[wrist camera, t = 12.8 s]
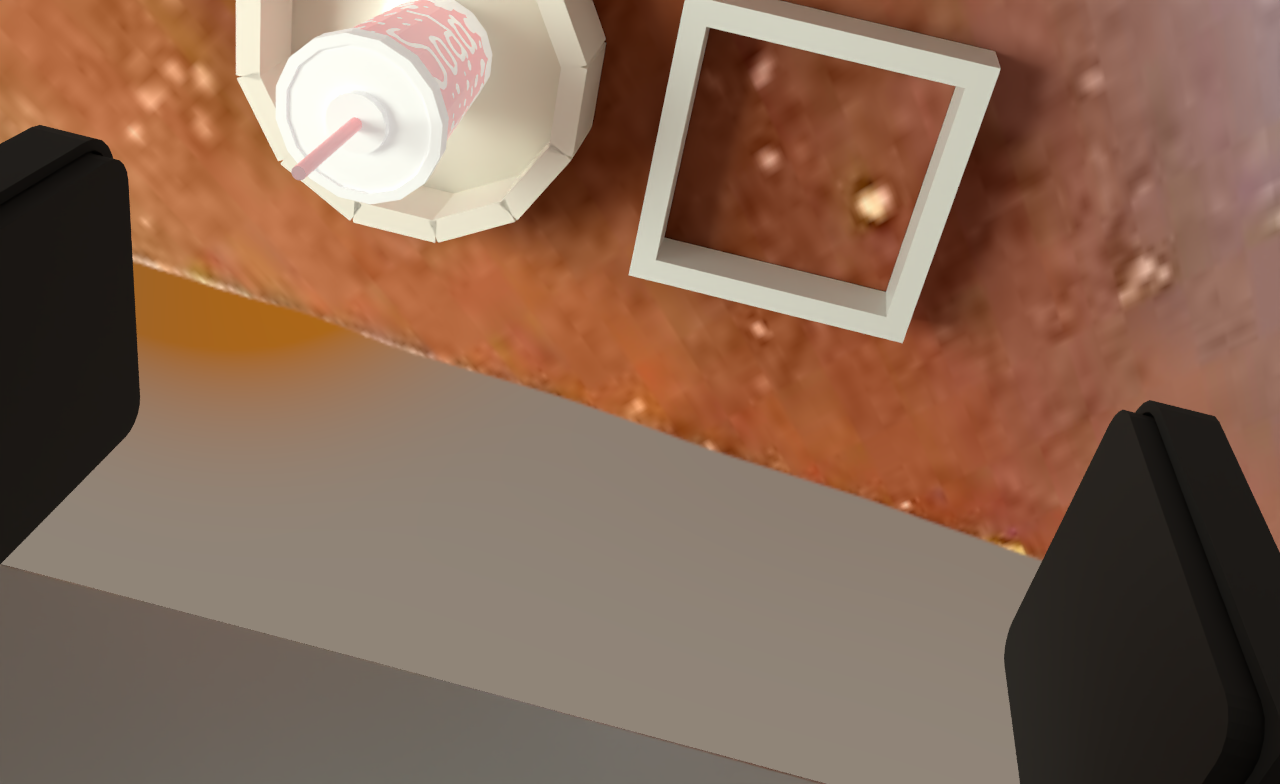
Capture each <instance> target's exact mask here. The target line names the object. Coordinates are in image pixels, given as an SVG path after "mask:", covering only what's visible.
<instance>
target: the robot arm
mask: <svg viewBox="0 0 1280 784" xmlns="http://www.w3.org/2000/svg"><path fill="white" fill-rule="evenodd" d="M134 297H135V296H134V278H133V259H132V241H131V222H130V204H129V185H128V176H127V171H126V169H125V166H124V164H123V163H122V162H120V161H119V160H116V159H113V156H112V154H111V151H110V149H109V147H108V146H107V145H106V144H105V143H104V142H103V141H102V140H98V139H94V138H90V137H86V136H82V135H78V134H74V133H70V132H66V131H62V130H58V129H54V128H50V127H46V126H42V125H38V126H35V127H31V128H29V129H27V130H26V131H24V132H22V133H20V134H18V135H16V136H14V137H13V138H11V139H9V140H7V141H5V142H3V143H1V144H0V784H825V783H822V782H818V781H814V780H811V779H807V778H803V777H799V776H796V775H792V774H789V773H785V772H781V771H778V770H773V769H769V768H766V767H763V766H759V765H755V764H752V763H748V762H744V761H741V760H737V759H733V758H730V757H726V756H722V755H719V754H715V753H711V752H708V751H704V750H700V749H697V748H693V747H689V746H685V745H681V744H678V743H674V742H670V741H667V740H663V739H659V738H656V737H652V736H648V735H644V734H641V733H637V732H633V731H629V730H625V729H622V728H618V727H615V726H610V725H607V724H603V723H599V722H595V721H592V720H588V719H584V718H581V717H577V716H574V715H570V714H566V713H562V712H558V711H555V710H551V709H547V708H544V707H540V706H536V705H532V704H529V703H525V702H521V701H518V700H514V699H510V698H506V697H502V696H499V695H495V694H491V693H488V692H484V691H480V690H476V689H472V688H469V687H465V686H461V685H457V684H454V683H450V682H446V681H443V680H439V679H435V678H431V677H428V676H424V675H420V674H417V673H412V672H409V671H405V670H401V669H398V668H394V667H390V666H386V665H383V664H379V663H375V662H372V661H368V660H364V659H360V658H356V657H353V656H349V655H345V654H341V653H337V652H333V651H329V650H326V649H322V648H318V647H314V646H311V645H307V644H303V643H299V642H296V641H292V640H288V639H284V638H280V637H277V636H273V635H269V634H265V633H261V632H258V631H254V630H250V629H246V628H242V627H239V626H235V625H231V624H227V623H223V622H220V621H216V620H212V619H208V618H204V617H201V616H197V615H193V614H189V613H185V612H182V611H178V610H174V609H170V608H166V607H163V606H159V605H155V604H151V603H147V602H144V601H140V600H136V599H132V598H129V597H125V596H121V595H117V594H113V593H109V592H106V591H102V590H98V589H94V588H91V587H87V586H83V585H79V584H75V583H72V582H68V581H64V580H60V579H56V578H52V577H48V576H45V575H41V574H37V573H33V572H29V571H25V570H21V569H18V568H14V567H10V566H5V565H2V564H1V563H2V562H3V561H4V560H5V559H6V558H7V557H8V556H9V555H10V554H11V553H12V552H13V551H14V550H15V549H16V548H17V547H18V546H19V545H20V544H21V543H22V542H23V541H24V539H26V537H28V536H29V535H30V533H31V532H32V531H33V530H34V529H35V528H36V527H37V526H38V525H39V524H40V523H41V522H42V521H43V520H44V519H45V518H46V517H47V516H48V515H49V514H50V513H51V512H52V511H53V510H54V509H55V508H56V507H57V506H58V505H59V504H60V503H61V502H62V501H63V500H64V499H65V498H66V497H67V496H68V495H69V494H70V493H71V492H72V491H73V490H74V489H75V488H76V487H77V486H78V485H79V484H80V483H81V482H82V480H84V479H85V477H86V476H87V475H89V473H90V472H91V471H92V470H93V469H94V468H95V467H96V466H97V465H98V464H99V463H100V462H101V461H102V460H103V459H104V458H105V457H106V456H107V455H108V454H109V453H110V452H111V451H112V450H113V449H114V448H115V447H116V446H117V445H118V444H119V443H120V442H121V441H122V440H123V439H124V438H125V437H126V436H127V434H128V433H129V432H130V430H131V428H132V427H133V425H134V423H135V420H136V417H137V414H138V410H139V405H140V389H139V371H138V353H137V334H136V317H135V298H134ZM1004 662H1005V672H1006V679H1007V687H1008V695H1009V702H1010V710H1011V717H1012V724H1013V732H1014V740H1015V747H1016V755H1017V763H1018V770H1019V778H1020V784H1280V552H1279V550H1278V548H1277V546H1276V544H1275V541H1274V539H1273V537H1272V535H1271V533H1270V531H1269V528H1268V526H1267V524H1266V522H1265V520H1264V518H1263V515H1262V513H1261V511H1260V509H1259V507H1258V505H1257V503H1256V500H1255V498H1254V496H1253V494H1252V492H1251V490H1250V487H1249V485H1248V483H1247V481H1246V479H1245V477H1244V474H1243V472H1242V470H1241V468H1240V466H1239V464H1238V461H1237V459H1236V457H1235V455H1234V453H1233V451H1232V448H1231V446H1230V444H1229V442H1228V440H1227V438H1226V435H1225V433H1224V431H1223V429H1222V427H1221V425H1220V422H1219V421H1218V420H1217V419H1216V417H1215V416H1211V415H1207V414H1203V413H1199V412H1195V411H1191V410H1187V409H1183V408H1179V407H1175V406H1171V405H1167V404H1163V403H1159V402H1155V401H1151V400H1149V401H1147V402H1145V403H1143V404H1142V405H1141V406H1140V407H1139V409H1138V410H1137V411H1136V412H1135V413H1134V412H1130V411H1126V410H1122V411H1120V412H1118V413H1117V414H1116V415H1115V416H1114V418H1113V419H1112V421H1111V423H1110V424H1109V426H1108V428H1107V430H1106V432H1105V434H1104V436H1103V439H1102V441H1101V443H1100V445H1099V447H1098V449H1097V451H1096V453H1095V455H1094V457H1093V459H1092V461H1091V463H1090V465H1089V467H1088V469H1087V471H1086V473H1085V475H1084V477H1083V479H1082V481H1081V483H1080V485H1079V487H1078V489H1077V491H1076V493H1075V495H1074V498H1073V500H1072V502H1071V504H1070V506H1069V508H1068V510H1067V512H1066V514H1065V516H1064V518H1063V520H1062V522H1061V524H1060V526H1059V528H1058V530H1057V532H1056V534H1055V536H1054V538H1053V540H1052V542H1051V544H1050V546H1049V548H1048V550H1047V552H1046V554H1045V557H1044V559H1043V561H1042V563H1041V565H1040V567H1039V569H1038V571H1037V573H1036V575H1035V577H1034V579H1033V581H1032V583H1031V585H1030V587H1029V589H1028V591H1027V593H1026V595H1025V597H1024V599H1023V601H1022V603H1021V605H1020V607H1019V609H1018V612H1017V614H1016V616H1015V618H1014V620H1013V622H1012V624H1011V627H1010V629H1009V633H1008V636H1007V640H1006V645H1005V654H1004Z"/></svg>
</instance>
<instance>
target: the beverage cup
mask: <svg viewBox="0 0 1280 784" xmlns="http://www.w3.org/2000/svg"><path fill="white" fill-rule="evenodd" d="M491 62H492V51H491V47H490V44H489V40H488V36H487V32H486V31H485V29H484V28H483V27H482V25H481V24H480V22H479V21H478V20H477V18H476V17H475V15H474V14H473V13H472V12H471V11H469V10H468V9H466V8H465V7H463V6H462V5H461V4H459V3H458V2H456V1H455V0H409V1H407V2H405V3H403V4H401V5H398V6H396V7H394V8H392V9H390V10H388V11H386V12H384V13H382V14H380V15H378V16H376V17H374V18H372V19H369V20H367V21H365V22H363V23H361V24H359V25H357V26H355V27H353V28H349V29H344V30H339V31H334V32H328V33H323V34H322V35H320V36H317V37H315V38H314V39H312V40H311V41H310V42H308V43H307V44H306V45H305V46H303V47H302V48H301V49H299V50H298V51H297V52H296V53H294V54H293V55H292V56H290V57H289V59H288V61H287V63H286V65H285V67H284V69H283V72H282V74H281V76H280V78H279V80H278V82H277V84H276V121H277V124H278V127H279V129H280V132H281V135H282V137H283V140H284V143H285V146H286V148H287V151H288V152H289V153H290V155H291V156H292V157H293V158H294V160H295V161H296V162H297V163H298V164H297V165H296V166H294V167H293V168H292V172H291V173H292V176H293V177H294V178H295V179H297V180H303V179H305V178H306V177H307V176H308V177H309V178H310V179H312V180H313V181H315V182H316V183H318V184H319V185H321V186H322V187H324V188H326V189H327V190H329V191H330V192H332V193H333V194H335V195H336V196H338V197H341V198H345V199H350V200H354V201H358V202H362V203H366V204H376V203H383V202H389V201H396V200H401V199H402V198H404V197H405V196H407V195H408V194H410V193H411V192H413V191H414V190H416V189H417V188H419V187H420V186H422V185H423V184H425V183H426V182H427V180H428V179H429V177H430V175H431V174H432V173H433V171H434V169H435V167H436V166H437V164H438V162H439V161H440V159H441V157H442V155H443V154H444V152H445V150H446V143H447V139H448V138H449V137H450V135H451V134H452V132H453V131H454V129H455V128H456V126H457V125H458V124H459V122H460V121H461V119H462V118H463V116H464V115H465V114H466V112H467V111H468V109H469V108H470V106H471V105H472V103H473V102H474V101H475V99H476V98H477V96H478V95H479V93H480V92H481V90H482V88H483V87H484V85H485V83H486V81H487V80H488V78H489V76H490V71H491Z"/></svg>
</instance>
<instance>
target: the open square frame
mask: <svg viewBox="0 0 1280 784" xmlns="http://www.w3.org/2000/svg"><path fill="white" fill-rule="evenodd" d="M710 28H714V29H718V30H722V31H726V32H730V33H735V34H739V35H743V36H747V37H751V38H756V39H760V40H764V41H768V42H772V43H777V44H781V45H785V46H789V47H793V48H798V49H802V50H806V51H810V52H814V53H819V54H823V55H827V56H831V57H836V58H840V59H844V60H848V61H852V62H857V63H861V64H865V65H869V66H873V67H878V68H882V69H886V70H890V71H894V72H899V73H903V74H907V75H911V76H915V77H920V78H924V79H928V80H932V81H936V82H941V83H945V84H949V85H953V86H956V88H955V90H954V93H953V96H952V99H951V102H950V105H949V108H948V111H947V114H946V117H945V120H944V123H943V126H942V129H941V132H940V135H939V137H938V140H937V143H936V146H935V149H934V152H933V155H932V158H931V161H930V164H929V167H928V170H927V173H926V176H925V179H924V182H923V185H922V187H921V190H920V193H919V196H918V199H917V202H916V205H915V208H914V211H913V214H912V217H911V220H910V223H909V226H908V229H907V232H906V234H905V237H904V240H903V243H902V246H901V249H900V252H899V255H898V258H897V261H896V264H895V267H894V270H893V273H892V276H891V279H890V281H889V284H888V287H887V290H886V292H884V291H880V290H876V289H872V288H868V287H864V286H860V285H856V284H851V283H847V282H843V281H839V280H835V279H831V278H827V277H823V276H819V275H815V274H811V273H807V272H803V271H799V270H795V269H791V268H787V267H782V266H778V265H774V264H770V263H766V262H762V261H758V260H754V259H750V258H746V257H742V256H738V255H734V254H730V253H726V252H722V251H718V250H713V249H709V248H705V247H701V246H697V245H693V244H689V243H685V242H681V241H677V240H673V239H669V238H665V232H666V227H667V223H668V218H669V214H670V209H671V204H672V200H673V195H674V191H675V186H676V182H677V177H678V172H679V168H680V163H681V159H682V154H683V149H684V145H685V140H686V136H687V131H688V126H689V122H690V117H691V113H692V108H693V104H694V99H695V94H696V90H697V85H698V81H699V76H700V71H701V67H702V62H703V58H704V53H705V48H706V44H707V39H708V35H709V30H710ZM1000 70H1001V68H1000V65H999V61H998V58H997V55H996V52H995V51H992V50H988V49H984V48H979V47H975V46H971V45H967V44H962V43H958V42H954V41H950V40H945V39H941V38H937V37H933V36H928V35H924V34H920V33H916V32H912V31H907V30H903V29H899V28H895V27H890V26H886V25H882V24H878V23H873V22H869V21H865V20H861V19H857V18H852V17H848V16H844V15H840V14H835V13H831V12H827V11H823V10H818V9H814V8H810V7H806V6H801V5H797V4H793V3H789V2H785V1H780V0H685V2H684V7H683V11H682V16H681V21H680V26H679V31H678V36H677V41H676V46H675V51H674V56H673V61H672V65H671V70H670V75H669V80H668V85H667V90H666V95H665V100H664V105H663V110H662V115H661V119H660V124H659V129H658V134H657V139H656V144H655V149H654V154H653V159H652V164H651V169H650V173H649V178H648V183H647V188H646V193H645V198H644V203H643V208H642V213H641V218H640V223H639V228H638V232H637V237H636V242H635V247H634V252H633V257H632V262H631V267H630V272H629V275H630V276H634V277H638V278H642V279H646V280H650V281H654V282H658V283H663V284H667V285H671V286H675V287H679V288H683V289H687V290H691V291H695V292H699V293H703V294H707V295H711V296H715V297H719V298H723V299H727V300H731V301H735V302H739V303H743V304H747V305H751V306H755V307H759V308H763V309H767V310H771V311H775V312H779V313H783V314H787V315H791V316H796V317H800V318H804V319H808V320H812V321H816V322H820V323H824V324H828V325H832V326H836V327H840V328H844V329H848V330H852V331H856V332H860V333H864V334H868V335H872V336H876V337H880V338H884V339H888V340H892V341H896V342H900V343H903V340H904V337H905V335H906V332H907V329H908V326H909V323H910V321H911V318H912V315H913V312H914V309H915V307H916V304H917V301H918V298H919V296H920V293H921V290H922V287H923V284H924V282H925V279H926V276H927V273H928V270H929V268H930V265H931V262H932V259H933V256H934V254H935V251H936V248H937V245H938V243H939V240H940V237H941V234H942V231H943V229H944V226H945V223H946V220H947V217H948V215H949V212H950V209H951V206H952V203H953V201H954V198H955V195H956V192H957V190H958V187H959V184H960V181H961V178H962V176H963V173H964V170H965V167H966V164H967V162H968V159H969V156H970V153H971V150H972V148H973V145H974V142H975V139H976V137H977V134H978V131H979V128H980V125H981V123H982V120H983V117H984V114H985V111H986V109H987V106H988V103H989V100H990V97H991V95H992V92H993V89H994V86H995V84H996V81H997V78H998V75H999V72H1000Z"/></svg>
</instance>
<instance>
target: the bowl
mask: <svg viewBox="0 0 1280 784" xmlns="http://www.w3.org/2000/svg"><path fill="white" fill-rule="evenodd" d="M407 1H409V0H236V75H239V76H240V77H238V78H237V80H238V82H239V84H240V86H241V88H242V90H243V92H244V94H245V96H246V98H247V100H248V102H249V104H250V106H251V108H252V110H253V112H254V114H255V116H256V118H257V120H258V122H259V124H260V126H261V128H262V130H263V132H264V134H265V136H266V138H267V140H268V142H269V144H270V146H271V148H272V150H273V152H274V154H275V156H276V158H277V160H278V161H280V160H283V159H284V160H283V161H282V163H281V165H282V166H284V167H285V168H286V169H287V170H289V171H290V172H292V168H293V167H294V166H296V165H297V164H298V163H297V162H296V161H295V160H294V158H293V157H292V156H291V155H290V153H289V152H288V151H287V148H286V146H285V143H284V140H283V137H282V135H281V132H280V129H279V127H278V124H277V121H276V84H277V82H278V80H279V78H280V76H281V74H282V72H283V69H284V67H285V65H286V63H287V61H288V59H289V57H290V56H292V55H293V54H294V53H296V52H297V51H298V50H299V49H301V48H302V47H303V46H305V45H306V44H307V43H308V42H310V41H311V40H312V39H314V38H315V37H317V36H320V35H322V34H323V33H328V32H334V31H339V30H344V29H349V28H353V27H355V26H357V25H359V24H361V23H363V22H365V21H367V20H369V19H372V18H374V17H376V16H378V15H380V14H382V13H384V12H386V11H388V10H390V9H392V8H394V7H396V6H398V5H401V4H403V3H405V2H407ZM455 1H456V2H458V3H459V4H461V5H462V6H463V7H465V8H466V9H468V10H469V11H471V12H472V13H473V14H474V15H475V17H476V18H477V20H478V21H479V22H480V24H481V25H482V27H483V28H484V29H485V31H486V32H487V36H488V40H489V44H490V47H491V51H492V62H491V71H490V76H489V78H488V80H487V81H486V83H485V85H484V87H483V88H482V90H481V92H480V93H479V95H478V96H477V98H476V99H475V101H474V102H473V103H472V105H471V106H470V108H469V109H468V111H467V112H466V114H465V115H464V116H463V118H462V119H461V121H460V122H459V124H458V125H457V126H456V128H455V129H454V131H453V132H452V134H451V135H450V137H449V138H448V139H447V143H446V150H445V152H444V154H443V155H442V157H441V159H440V161H439V162H438V164H437V166H436V167H435V169H434V171H433V173H432V174H431V175H430V177H429V179H428V180H427V182H426V183H425V184H423V185H422V186H420V187H419V188H417V189H416V190H414V191H413V192H411V193H410V194H408V195H407V196H405V197H404V198H402V199H401V200H396V201H389V202H383V203H376V204H366V203H362V202H358V201H354V200H350V199H345V198H341V197H338V196H336V195H335V194H333V193H332V192H330V191H329V190H327V189H326V188H324V187H322V186H321V185H319V184H318V183H316V182H315V181H313V180H312V179H310V178H309V177H308V176H307V177H306V178H305V179H303V180H301V181H302V182H303V183H304V184H306V185H307V186H308V187H309V188H311V189H312V190H313V191H314V192H315V193H317V194H318V195H319V196H320V197H322V198H323V199H324V200H325V201H326V202H328V203H329V204H330V205H331V206H333V207H334V208H335V209H336V210H337V211H339V212H340V213H341V214H342V215H344V216H345V217H346V218H347V219H349V220H351V219H352V218H353V222H354V223H358V224H362V225H366V226H370V227H374V228H378V229H382V230H386V231H390V232H394V233H398V234H402V235H406V236H410V237H414V238H418V239H422V240H426V241H430V242H434V243H435V242H436V241H438V243H439V242H442V241H446V240H450V239H453V238H457V237H461V236H465V235H468V234H472V233H476V232H479V231H483V230H487V229H490V228H494V227H498V226H501V225H505V224H509V223H512V222H515V221H516V219H517V220H518V219H519V218H520V217H521V216H522V215H523V214H524V212H525V211H526V210H527V209H528V208H529V207H530V206H531V205H532V203H533V202H534V201H535V200H536V199H537V198H538V197H539V196H540V195H541V193H542V192H543V191H544V190H545V189H546V188H547V187H548V186H549V185H550V183H551V182H552V181H553V180H554V179H555V178H556V177H557V176H558V174H559V173H560V172H561V171H562V170H563V169H564V168H565V167H566V166H567V164H568V163H569V162H570V161H571V160H572V158H573V157H574V155H575V153H576V152H577V150H578V149H579V147H580V145H581V144H582V142H583V141H584V139H585V137H586V136H587V134H588V133H589V131H590V129H591V127H592V124H593V118H594V112H595V106H596V100H597V95H598V89H599V83H600V77H601V71H602V65H603V60H604V54H605V48H606V43H605V42H604V41H605V40H606V37H605V35H604V32H603V29H602V26H601V23H600V20H599V17H598V15H597V12H596V9H595V6H594V3H593V0H455Z"/></svg>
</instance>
